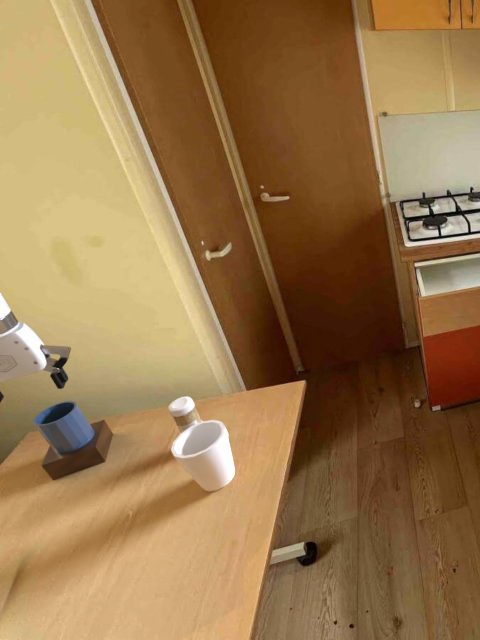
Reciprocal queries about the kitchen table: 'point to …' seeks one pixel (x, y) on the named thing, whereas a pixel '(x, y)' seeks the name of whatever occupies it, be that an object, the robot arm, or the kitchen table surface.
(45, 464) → the block
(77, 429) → the cup
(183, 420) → the sprinkles bottle
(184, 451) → the foam cup
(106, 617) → the kitchen table surface
